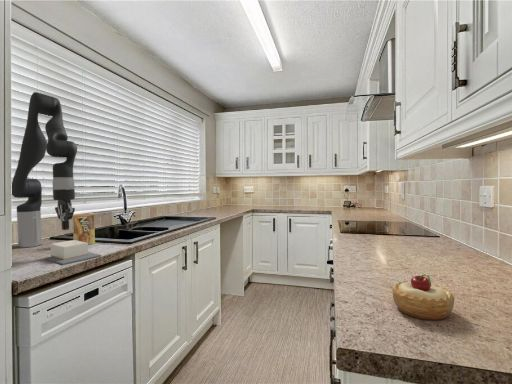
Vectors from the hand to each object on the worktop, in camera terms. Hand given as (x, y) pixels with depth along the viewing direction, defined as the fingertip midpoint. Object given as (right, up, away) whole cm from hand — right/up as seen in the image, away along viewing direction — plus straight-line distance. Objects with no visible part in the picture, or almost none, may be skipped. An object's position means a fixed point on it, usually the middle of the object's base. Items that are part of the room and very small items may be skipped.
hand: (65, 229), depth 118 cm
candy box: (-6, -11, +22) cm, 25 cm away
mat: (+5, -11, -3) cm, 13 cm away
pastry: (+118, -11, -54) cm, 130 cm away
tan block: (-2, -8, +2) cm, 9 cm away
